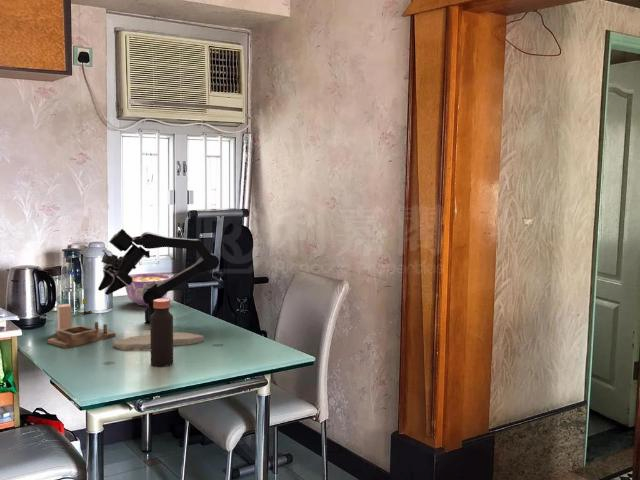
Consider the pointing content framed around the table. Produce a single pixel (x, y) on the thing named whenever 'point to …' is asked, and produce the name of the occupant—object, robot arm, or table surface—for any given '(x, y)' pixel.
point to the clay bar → (64, 316)
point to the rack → (80, 335)
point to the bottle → (161, 334)
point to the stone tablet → (145, 341)
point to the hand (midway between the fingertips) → (102, 292)
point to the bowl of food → (143, 286)
